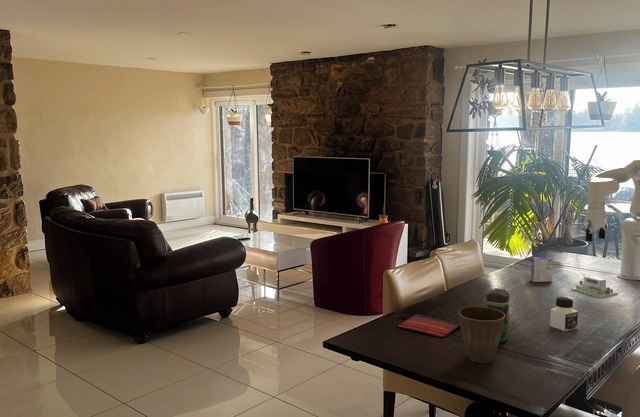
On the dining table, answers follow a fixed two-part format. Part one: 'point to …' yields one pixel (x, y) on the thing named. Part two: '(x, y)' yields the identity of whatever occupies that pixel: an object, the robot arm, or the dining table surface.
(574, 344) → the dining table surface
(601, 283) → the block
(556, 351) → the dining table surface
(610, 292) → the tray
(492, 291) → the coffee jar
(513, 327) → the dining table surface
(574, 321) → the medicine bottle
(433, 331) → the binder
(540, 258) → the ink cartridge box
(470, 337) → the plant pot
